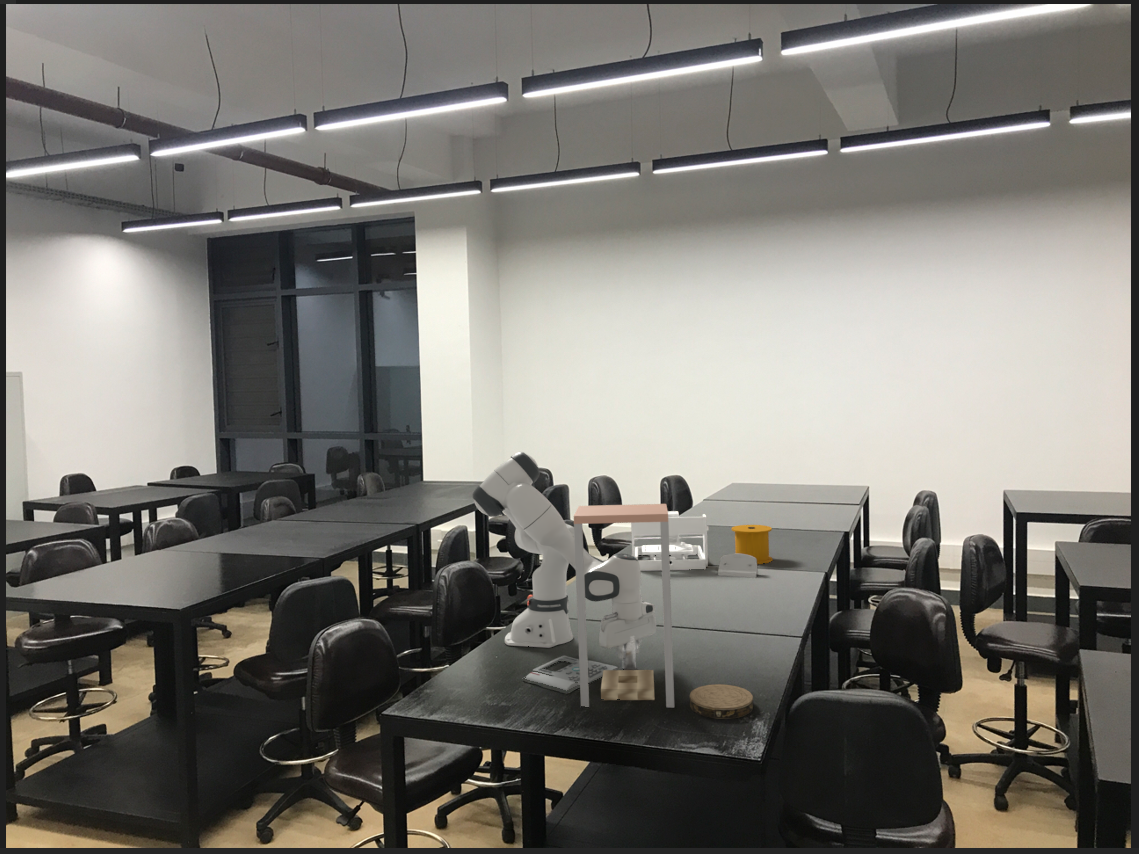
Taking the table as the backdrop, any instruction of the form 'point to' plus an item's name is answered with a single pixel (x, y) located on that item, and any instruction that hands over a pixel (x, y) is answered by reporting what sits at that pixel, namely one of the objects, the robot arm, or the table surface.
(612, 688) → the socket block
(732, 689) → the wood slice
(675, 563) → the 3d printer
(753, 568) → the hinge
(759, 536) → the spool
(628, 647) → the peg
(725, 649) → the table surface
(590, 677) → the office telephone
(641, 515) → the pink-topped arch frame
